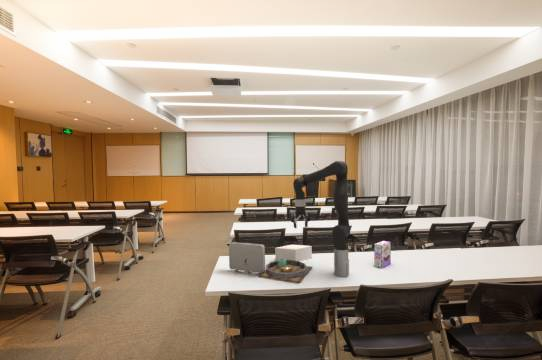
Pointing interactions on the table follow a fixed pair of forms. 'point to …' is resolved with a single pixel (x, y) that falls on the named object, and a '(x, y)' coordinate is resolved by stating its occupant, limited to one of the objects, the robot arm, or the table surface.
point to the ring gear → (284, 275)
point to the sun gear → (286, 268)
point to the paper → (293, 252)
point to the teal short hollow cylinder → (281, 262)
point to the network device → (247, 258)
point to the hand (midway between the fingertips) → (300, 227)
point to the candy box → (382, 254)
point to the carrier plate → (295, 269)
